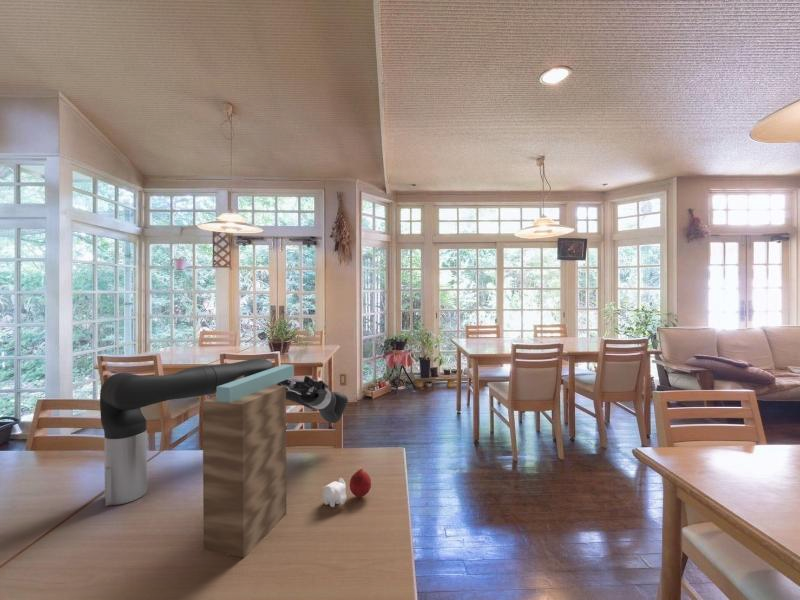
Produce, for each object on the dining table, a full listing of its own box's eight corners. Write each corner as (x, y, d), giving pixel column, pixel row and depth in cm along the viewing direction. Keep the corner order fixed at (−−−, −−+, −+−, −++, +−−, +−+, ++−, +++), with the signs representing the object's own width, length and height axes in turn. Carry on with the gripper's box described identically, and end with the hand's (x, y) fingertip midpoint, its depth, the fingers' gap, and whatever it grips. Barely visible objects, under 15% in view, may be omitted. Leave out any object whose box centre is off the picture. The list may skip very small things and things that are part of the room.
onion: (367, 505, 95) (367, 474, 95) (346, 502, 96) (346, 472, 96) (373, 493, 101) (373, 464, 101) (353, 490, 102) (353, 462, 102)
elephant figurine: (336, 515, 91) (336, 491, 90) (313, 505, 95) (313, 482, 95) (353, 502, 96) (353, 480, 96) (331, 493, 101) (331, 472, 100)
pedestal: (243, 558, 76) (242, 404, 75) (203, 549, 78) (202, 400, 78) (286, 513, 91) (285, 386, 91) (251, 507, 94) (251, 383, 93)
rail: (229, 402, 77) (229, 387, 77) (216, 401, 77) (216, 386, 77) (293, 376, 102) (293, 364, 102) (283, 375, 103) (283, 364, 103)
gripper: (298, 381, 120) (273, 364, 106) (338, 384, 116) (317, 367, 103) (292, 404, 116) (265, 390, 103) (333, 408, 113) (311, 393, 99)
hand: (291, 378), depth 103 cm, fingers open, 8 cm apart
